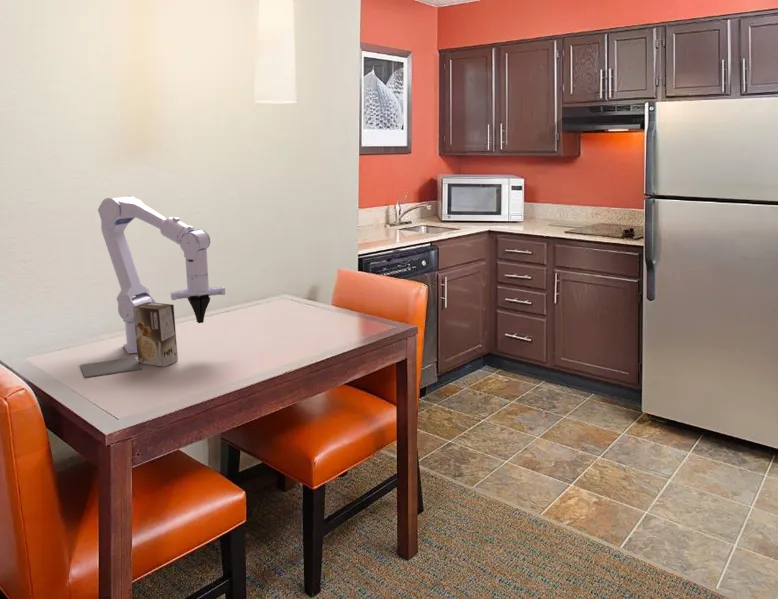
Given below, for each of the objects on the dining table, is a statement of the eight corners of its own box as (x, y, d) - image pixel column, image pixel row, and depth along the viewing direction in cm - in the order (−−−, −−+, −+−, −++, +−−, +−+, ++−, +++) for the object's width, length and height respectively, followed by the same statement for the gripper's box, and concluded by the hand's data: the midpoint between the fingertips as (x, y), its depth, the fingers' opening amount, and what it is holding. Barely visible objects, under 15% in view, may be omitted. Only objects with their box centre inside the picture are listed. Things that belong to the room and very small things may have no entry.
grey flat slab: (80, 366, 184) (80, 364, 184) (134, 358, 191) (134, 356, 191) (85, 378, 175) (84, 376, 175) (142, 369, 182) (142, 367, 182)
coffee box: (179, 360, 189) (175, 304, 186) (163, 367, 183) (159, 309, 180) (152, 356, 192) (148, 301, 189) (136, 363, 187) (131, 306, 183)
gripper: (173, 279, 181) (176, 328, 184) (227, 274, 188) (229, 322, 191) (167, 274, 187) (171, 322, 190) (220, 270, 194) (222, 316, 197)
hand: (200, 322), depth 191 cm, fingers closed
